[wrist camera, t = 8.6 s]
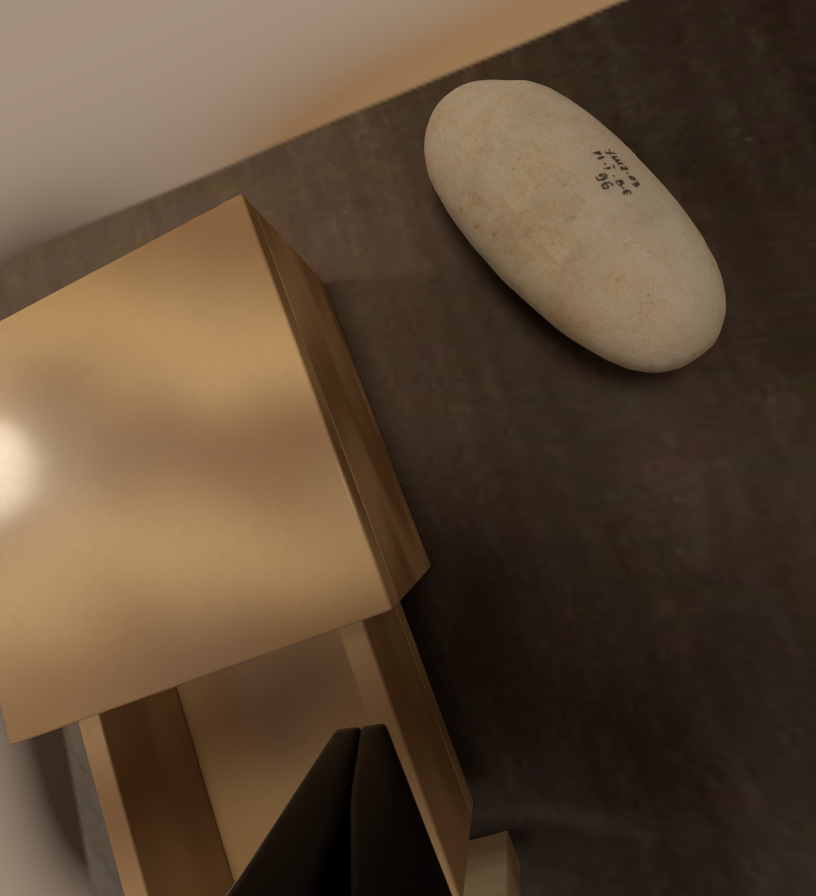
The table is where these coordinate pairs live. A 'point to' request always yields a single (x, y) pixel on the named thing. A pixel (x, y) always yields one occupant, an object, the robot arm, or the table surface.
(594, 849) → the table surface
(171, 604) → the cabinet
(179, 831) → the drawer
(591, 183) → the stone
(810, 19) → the table surface
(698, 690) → the table surface
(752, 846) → the table surface
